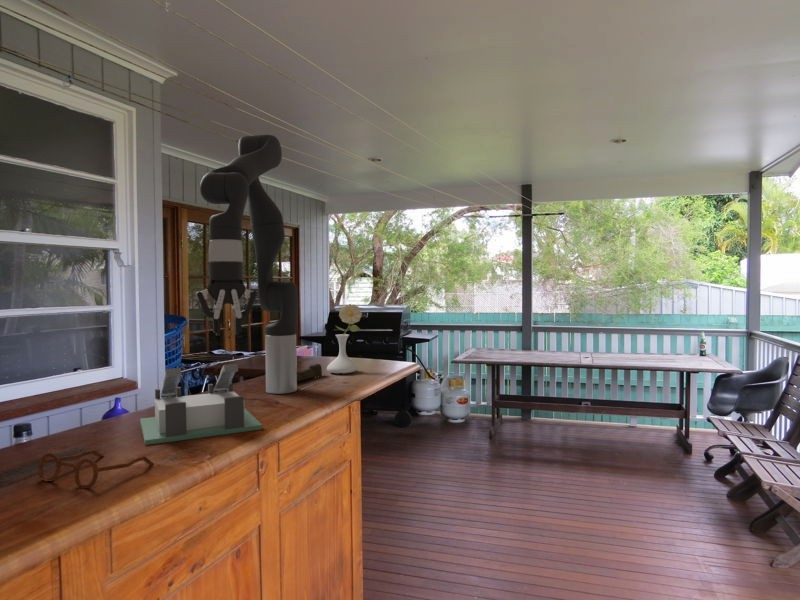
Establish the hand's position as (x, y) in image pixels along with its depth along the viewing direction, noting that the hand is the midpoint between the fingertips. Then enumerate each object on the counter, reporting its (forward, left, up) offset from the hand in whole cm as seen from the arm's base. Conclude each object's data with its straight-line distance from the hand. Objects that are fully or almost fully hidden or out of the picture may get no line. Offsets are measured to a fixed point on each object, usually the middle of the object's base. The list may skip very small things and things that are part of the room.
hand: (227, 334), depth 124 cm
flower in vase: (-51, +50, -21) cm, 75 cm away
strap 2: (-3, 0, -12) cm, 12 cm away
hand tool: (-46, +33, -22) cm, 61 cm away
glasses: (+20, -26, -22) cm, 40 cm away
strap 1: (-3, -12, -12) cm, 17 cm away
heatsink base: (-2, -6, -21) cm, 22 cm away
